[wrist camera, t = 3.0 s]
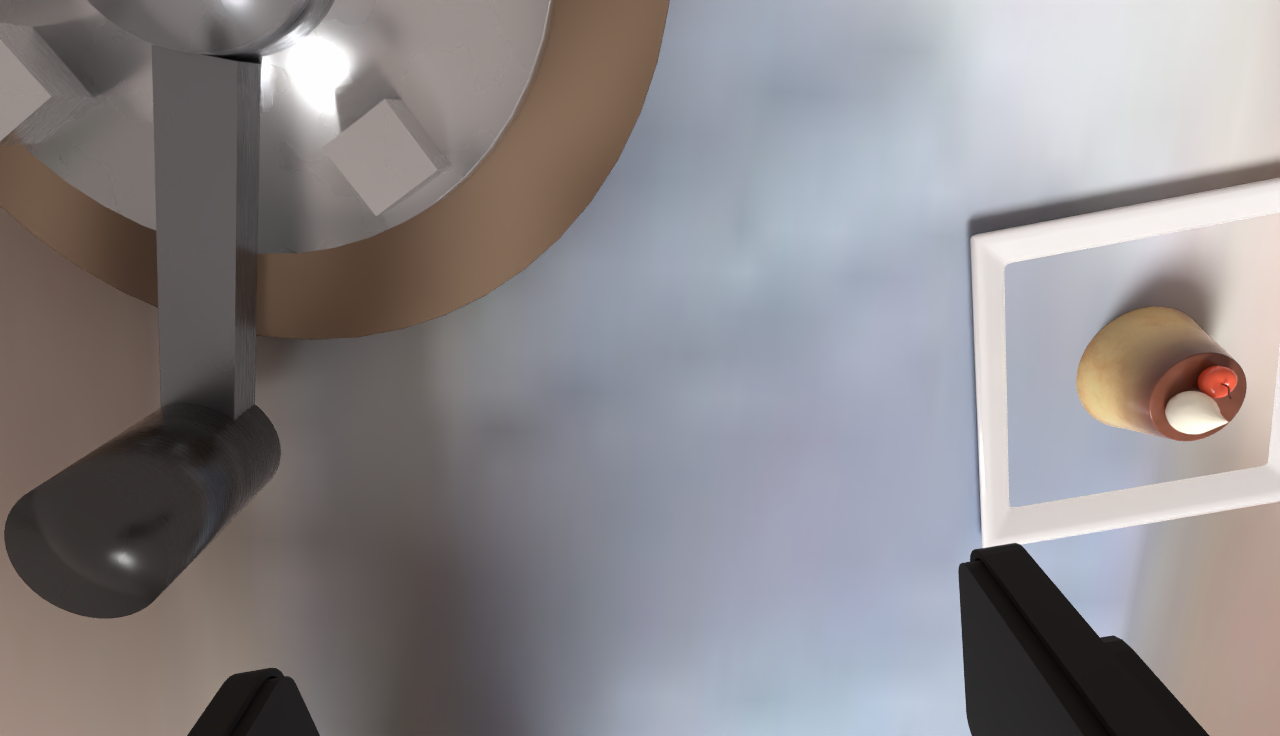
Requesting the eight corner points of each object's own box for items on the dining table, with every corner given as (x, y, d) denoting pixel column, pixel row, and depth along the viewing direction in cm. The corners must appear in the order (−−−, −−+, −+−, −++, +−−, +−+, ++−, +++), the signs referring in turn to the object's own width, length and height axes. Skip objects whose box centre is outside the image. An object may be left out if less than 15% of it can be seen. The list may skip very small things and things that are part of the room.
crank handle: (-120, -553, 16) (-681, -1049, 9) (607, -373, 17) (592, -692, 10) (-11, 433, 24) (-273, 566, 17) (486, 511, 25) (431, 665, 18)
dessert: (1324, 160, 24) (1484, 173, 20) (1286, 481, 28) (1412, 554, 24) (956, 229, 25) (1028, 257, 20) (969, 535, 29) (1033, 615, 24)
